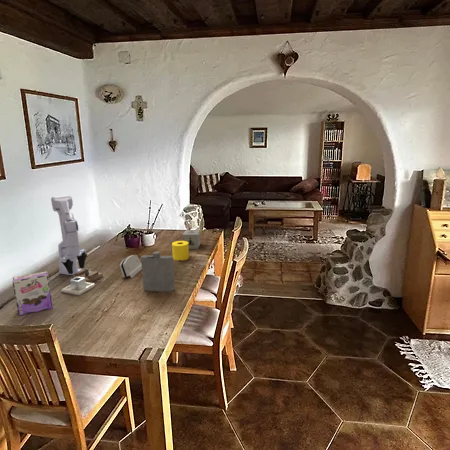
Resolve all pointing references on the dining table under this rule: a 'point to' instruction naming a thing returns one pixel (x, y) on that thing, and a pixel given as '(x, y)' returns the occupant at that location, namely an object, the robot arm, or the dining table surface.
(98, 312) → the dining table surface
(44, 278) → the candy box
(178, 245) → the yellow hollow cylinder
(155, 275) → the hip flask
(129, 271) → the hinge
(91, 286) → the dish
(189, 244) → the icon cube
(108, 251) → the dining table surface
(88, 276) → the vise block
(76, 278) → the sleeve
